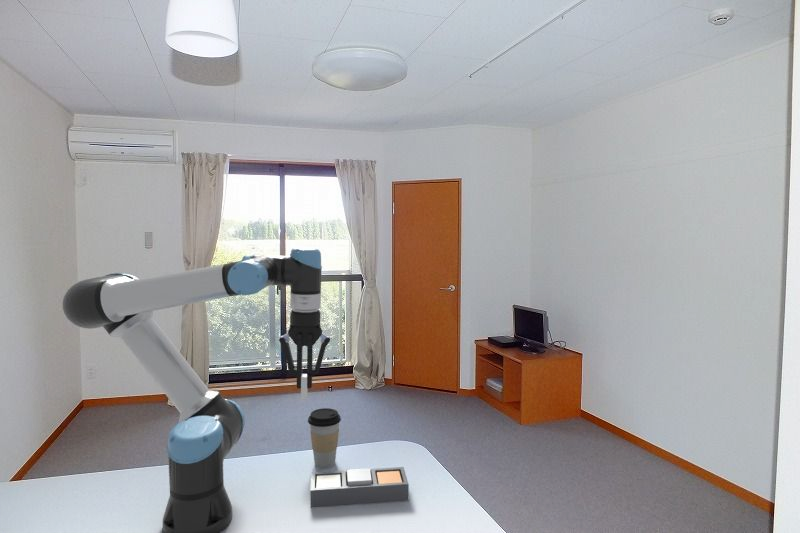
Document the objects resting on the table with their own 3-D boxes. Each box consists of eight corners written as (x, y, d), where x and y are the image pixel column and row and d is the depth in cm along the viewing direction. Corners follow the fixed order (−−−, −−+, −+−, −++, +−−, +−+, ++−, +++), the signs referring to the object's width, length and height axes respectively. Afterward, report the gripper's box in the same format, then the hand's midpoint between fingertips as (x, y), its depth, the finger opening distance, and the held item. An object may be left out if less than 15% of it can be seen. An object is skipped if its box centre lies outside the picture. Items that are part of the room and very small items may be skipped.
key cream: (316, 495, 125) (316, 488, 125) (317, 483, 131) (316, 475, 131) (340, 494, 126) (340, 486, 126) (340, 481, 132) (340, 474, 132)
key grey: (347, 489, 126) (347, 481, 126) (347, 476, 132) (347, 469, 132) (371, 487, 127) (371, 480, 127) (369, 475, 133) (369, 468, 132)
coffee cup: (338, 471, 141) (338, 420, 140) (305, 470, 142) (304, 419, 140) (343, 455, 151) (342, 407, 149) (311, 455, 151) (311, 406, 149)
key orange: (378, 491, 127) (378, 484, 127) (376, 479, 133) (376, 472, 133) (402, 490, 128) (402, 482, 128) (399, 478, 134) (399, 470, 134)
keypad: (310, 507, 124) (310, 490, 123) (311, 488, 132) (311, 472, 132) (408, 500, 127) (408, 484, 127) (403, 482, 136) (403, 466, 135)
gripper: (277, 312, 122) (276, 406, 124) (331, 312, 123) (329, 405, 126) (280, 306, 129) (279, 395, 132) (331, 307, 131) (330, 394, 133)
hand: (304, 400), depth 129 cm, fingers closed
